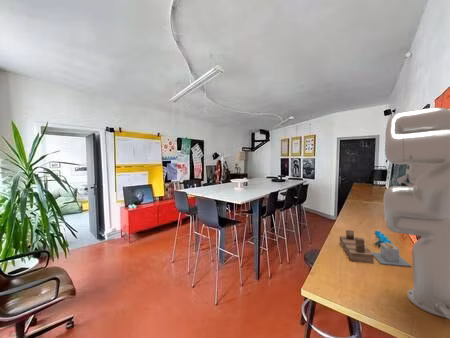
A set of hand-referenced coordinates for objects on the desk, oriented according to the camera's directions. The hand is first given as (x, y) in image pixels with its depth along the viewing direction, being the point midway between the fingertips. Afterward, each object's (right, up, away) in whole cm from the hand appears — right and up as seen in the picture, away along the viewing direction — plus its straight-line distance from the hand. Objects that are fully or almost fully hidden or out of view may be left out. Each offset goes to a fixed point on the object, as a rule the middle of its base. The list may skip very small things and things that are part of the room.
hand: (422, 198), depth 83 cm
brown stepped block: (-16, -31, +19) cm, 40 cm away
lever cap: (-6, -30, +10) cm, 32 cm away
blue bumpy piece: (+3, -30, +25) cm, 39 cm away
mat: (-6, -30, +10) cm, 32 cm away
